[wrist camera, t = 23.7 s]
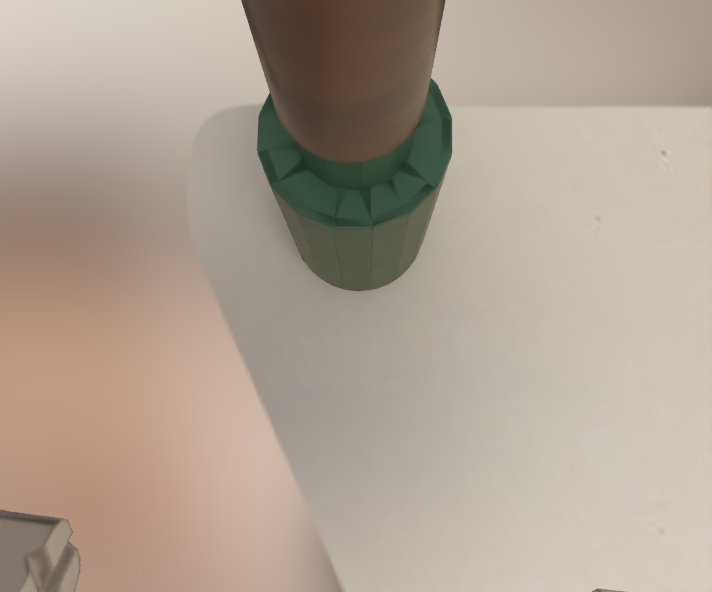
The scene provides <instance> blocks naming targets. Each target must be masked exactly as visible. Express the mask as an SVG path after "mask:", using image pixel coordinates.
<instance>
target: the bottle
mask: <svg viewBox="0 0 712 592" xmlns="http://www.w3.org/2000/svg"><path fill="white" fill-rule="evenodd" d="M257 151H258V155H259V158H260V161H261V163H262V166H263V168H264V171H265V174H266V176H267V179H268V181H269V184H270V186H271V189H272V191H273V193H274V195H275V198H276V200H277V202H278V204H279V207H280V209H281V211H282V213H283V216H284V218H285V220H286V222H287V225H288V227H289V229H290V231H291V234H292V236H293V238H294V240H295V243H296V245H297V247H298V250H299V252H300V254H301V256H302V259H303V260H304V261H305V262H306V263H307V265H308V266H309V267H310V269H311V270H312V271H313V272H314V273H315V274H316V275H317V276H319V277H320V278H321V279H323V280H324V281H326V282H328V283H330V284H332V285H334V286H336V287H339V288H343V289H347V290H356V291H362V290H371V289H376V288H379V287H382V286H384V285H387V284H389V283H391V282H392V281H394V280H395V279H397V278H398V277H400V276H401V275H402V274H403V273H404V272H405V271H406V270H407V269H408V268H409V267H410V265H411V264H412V263H413V261H414V260H415V258H416V256H417V254H418V251H419V249H420V246H421V244H422V242H423V239H424V236H425V233H426V230H427V227H428V224H429V221H430V218H431V215H432V212H433V209H434V206H435V203H436V200H437V197H438V194H439V191H440V188H441V185H442V182H443V179H444V176H445V173H446V170H447V167H448V164H449V161H450V158H451V154H452V118H451V114H450V112H449V110H448V107H447V105H446V103H445V101H444V98H443V96H442V94H441V92H440V89H439V87H438V85H437V84H436V82H434V80H432V79H431V78H430V84H429V89H428V94H427V99H426V104H425V109H424V111H423V114H422V117H421V119H420V121H419V123H418V125H417V126H416V128H415V129H414V131H413V132H412V133H411V135H410V136H409V137H408V138H407V139H406V140H405V141H404V142H403V143H402V144H400V145H399V146H398V147H397V148H395V149H394V150H392V151H390V152H389V153H387V154H385V155H383V156H380V157H378V158H375V159H372V160H368V161H363V162H353V163H345V162H336V161H331V160H327V159H324V158H321V157H318V156H316V155H314V154H312V153H310V152H308V151H307V150H305V149H304V148H302V147H301V146H300V145H298V144H297V143H296V142H295V141H294V140H293V139H292V138H291V137H290V136H289V135H288V133H287V132H286V131H285V129H284V128H283V126H282V124H281V122H280V120H279V118H278V116H277V113H276V110H275V107H274V103H273V100H272V97H271V94H270V93H269V95H268V97H267V99H266V101H265V103H264V105H263V108H262V110H261V112H260V114H259V121H258V143H257Z"/></svg>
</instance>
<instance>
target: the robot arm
mask: <svg viewBox="0 0 712 592" xmlns="http://www.w3.org/2000/svg"><path fill="white" fill-rule="evenodd" d="M72 533H73V531H72V528H71V525H70V523H69V520H68V519H62V518H55V517H47V516H39V515H31V514H24V513H17V512H9V511H5V510H0V592H75V590H76V586H77V582H78V578H79V574H80V555H79V552H78V549H77V548H76V547H75V546H74V545H72V544H71V543H70V542H69V539H70V537H71V535H72ZM592 592H624V591H615V590H606V589H596V590H594V591H592Z"/></svg>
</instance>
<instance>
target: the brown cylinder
mask: <svg viewBox="0 0 712 592" xmlns="http://www.w3.org/2000/svg"><path fill="white" fill-rule="evenodd" d="M241 1H242V4H243V7H244V10H245V14H246V17H247V20H248V23H249V26H250V30H251V33H252V36H253V39H254V42H255V46H256V49H257V52H258V55H259V58H260V62H261V65H262V68H263V71H264V75H265V77H266V81H267V84H268V87H269V91H270V94H271V97H272V100H273V103H274V107H275V110H276V113H277V116H278V118H279V120H280V122H281V124H282V126H283V128H284V129H285V131H286V132H287V133H288V135H289V136H290V137H291V138H292V139H293V140H294V141H295V142H296V143H297V144H298V145H300V146H301V147H302V148H304V149H305V150H307V151H308V152H310V153H312V154H314V155H316V156H318V157H321V158H324V159H327V160H331V161H336V162H345V163H353V162H363V161H368V160H372V159H375V158H378V157H380V156H383V155H385V154H387V153H389V152H390V151H392V150H394V149H395V148H397V147H398V146H399V145H400V144H402V143H403V142H404V141H405V140H406V139H407V138H408V137H409V136H410V135H411V133H412V132H413V131H414V129H415V128H416V126H417V125H418V123H419V121H420V119H421V117H422V114H423V111H424V109H425V104H426V99H427V94H428V89H429V84H430V78H431V73H432V68H433V62H434V57H435V52H436V47H437V42H438V36H439V31H440V26H441V21H442V16H443V10H444V5H445V0H241Z"/></svg>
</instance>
